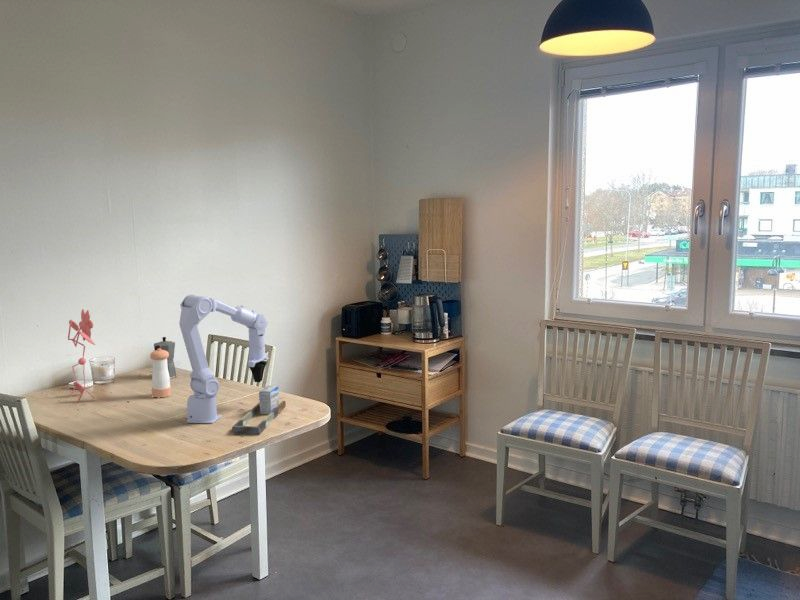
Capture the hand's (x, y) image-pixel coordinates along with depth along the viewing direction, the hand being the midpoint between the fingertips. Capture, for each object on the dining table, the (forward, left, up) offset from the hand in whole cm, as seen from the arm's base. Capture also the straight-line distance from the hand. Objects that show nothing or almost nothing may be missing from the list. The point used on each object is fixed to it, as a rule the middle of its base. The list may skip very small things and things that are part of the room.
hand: (258, 381), depth 242 cm
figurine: (-70, +5, -10) cm, 71 cm away
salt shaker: (-43, +9, -10) cm, 45 cm away
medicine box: (+6, -6, -10) cm, 13 cm away
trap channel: (+6, -16, -9) cm, 19 cm away
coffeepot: (-55, +36, -10) cm, 66 cm away
